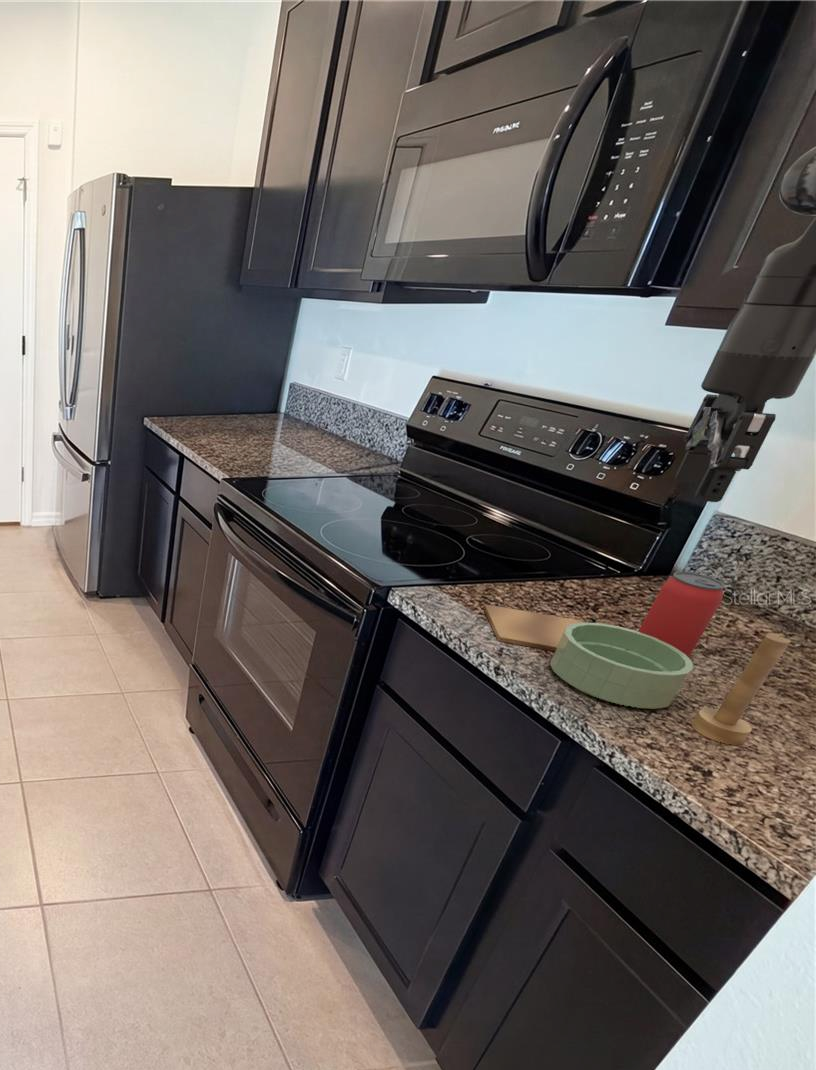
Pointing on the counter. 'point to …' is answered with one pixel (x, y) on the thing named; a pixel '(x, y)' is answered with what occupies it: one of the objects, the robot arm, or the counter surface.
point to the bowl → (620, 665)
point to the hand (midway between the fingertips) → (695, 490)
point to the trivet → (527, 627)
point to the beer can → (683, 610)
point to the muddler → (741, 696)
